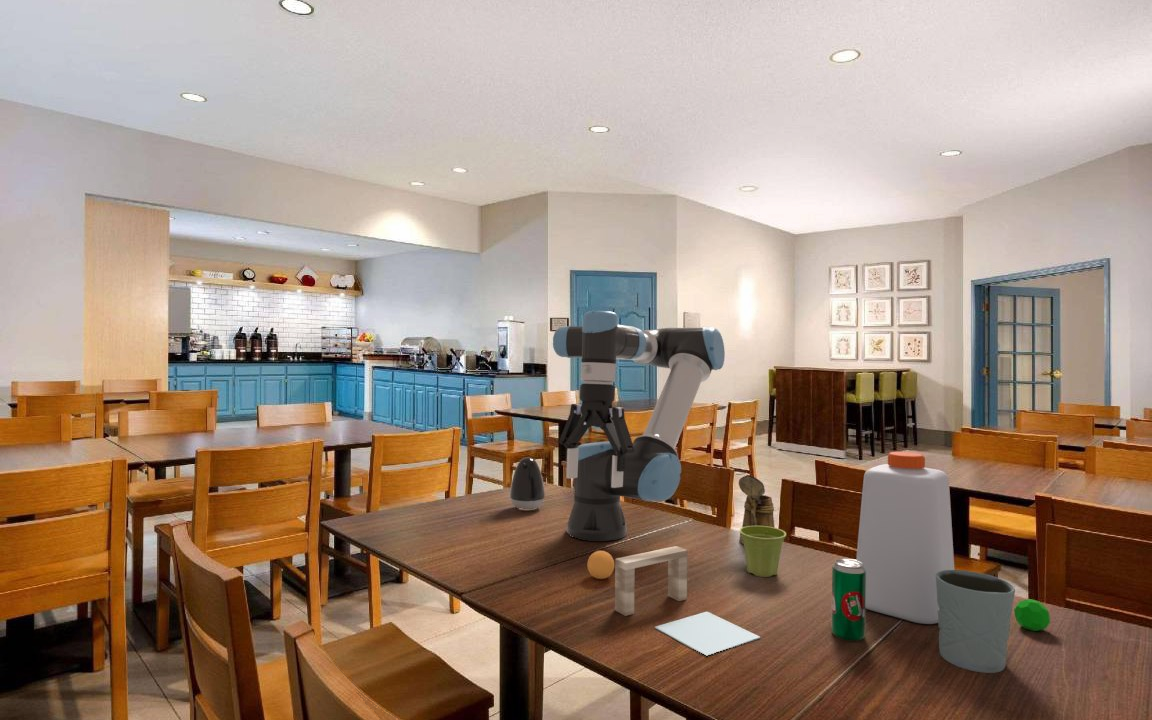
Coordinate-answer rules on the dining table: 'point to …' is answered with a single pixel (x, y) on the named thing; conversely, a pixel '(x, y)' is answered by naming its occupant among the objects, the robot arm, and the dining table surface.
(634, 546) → the dining table surface
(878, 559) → the plastic bottle
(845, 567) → the soda can
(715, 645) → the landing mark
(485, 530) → the dining table surface
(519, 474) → the black rounded dome
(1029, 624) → the polyhedron
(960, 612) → the grey cup
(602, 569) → the ball
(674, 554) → the bridge
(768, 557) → the plant pot
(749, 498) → the wooden mug
